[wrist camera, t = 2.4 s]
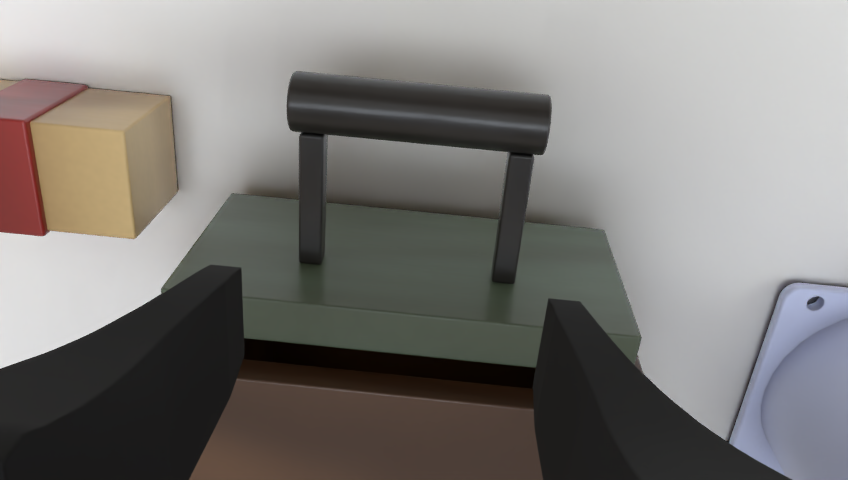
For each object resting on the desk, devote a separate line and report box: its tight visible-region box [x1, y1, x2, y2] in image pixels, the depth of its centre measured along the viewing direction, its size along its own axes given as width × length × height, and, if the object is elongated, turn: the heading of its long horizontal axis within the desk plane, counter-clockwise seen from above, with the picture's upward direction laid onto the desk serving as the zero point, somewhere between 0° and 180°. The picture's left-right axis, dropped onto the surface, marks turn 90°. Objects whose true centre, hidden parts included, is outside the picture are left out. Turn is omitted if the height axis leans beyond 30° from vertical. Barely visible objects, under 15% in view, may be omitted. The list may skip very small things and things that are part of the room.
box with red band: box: [0, 79, 178, 239], centre depth 22 cm, size 7×3×4 cm, turn 85°
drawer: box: [161, 71, 641, 389], centre depth 22 cm, size 17×11×6 cm, turn 176°
